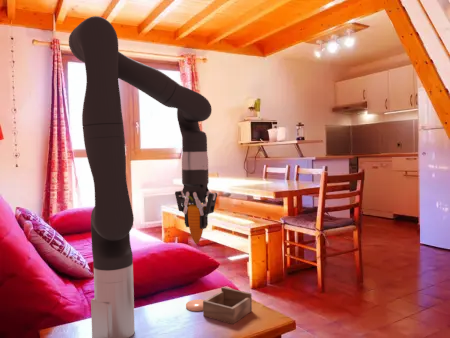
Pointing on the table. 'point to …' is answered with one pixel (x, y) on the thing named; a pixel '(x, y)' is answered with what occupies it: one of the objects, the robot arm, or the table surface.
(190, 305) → the peach dome
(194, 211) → the carrot
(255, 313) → the table surface
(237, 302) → the brown open box
